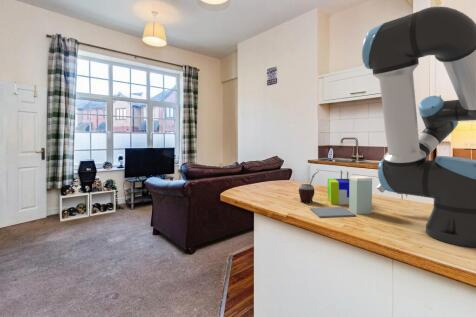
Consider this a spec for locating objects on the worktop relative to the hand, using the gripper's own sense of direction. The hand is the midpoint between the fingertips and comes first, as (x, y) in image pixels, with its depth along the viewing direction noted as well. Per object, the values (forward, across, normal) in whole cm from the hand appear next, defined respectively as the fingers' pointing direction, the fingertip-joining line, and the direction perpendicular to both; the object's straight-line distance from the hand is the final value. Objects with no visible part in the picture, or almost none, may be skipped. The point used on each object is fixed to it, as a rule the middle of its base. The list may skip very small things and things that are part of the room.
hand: (379, 189), depth 101 cm
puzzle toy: (+12, +16, 0) cm, 20 cm away
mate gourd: (+23, +17, +10) cm, 31 cm away
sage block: (+12, 0, 0) cm, 12 cm away
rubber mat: (+20, 0, +8) cm, 21 cm away
